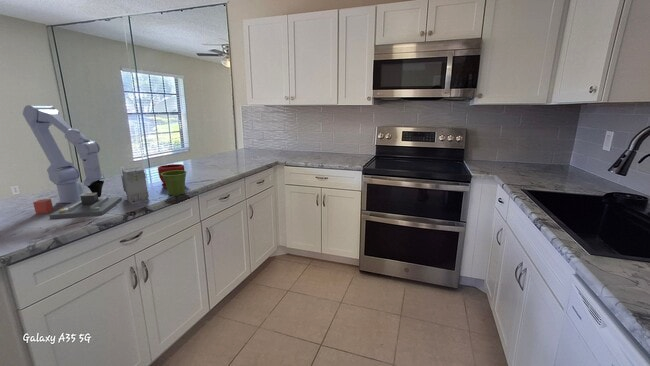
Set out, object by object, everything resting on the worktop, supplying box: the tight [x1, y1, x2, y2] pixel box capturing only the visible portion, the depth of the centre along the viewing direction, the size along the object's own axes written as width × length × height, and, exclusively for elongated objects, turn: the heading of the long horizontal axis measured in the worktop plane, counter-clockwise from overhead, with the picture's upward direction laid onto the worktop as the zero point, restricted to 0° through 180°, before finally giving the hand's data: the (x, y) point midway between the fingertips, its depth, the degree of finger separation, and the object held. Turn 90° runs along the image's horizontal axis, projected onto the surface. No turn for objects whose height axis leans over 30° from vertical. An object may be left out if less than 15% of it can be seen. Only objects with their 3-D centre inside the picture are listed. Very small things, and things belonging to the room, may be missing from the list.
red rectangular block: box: [32, 198, 54, 215], centre depth 121 cm, size 4×4×5 cm
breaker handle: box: [80, 192, 99, 205], centre depth 127 cm, size 3×5×4 cm, turn 105°
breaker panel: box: [48, 196, 123, 220], centre depth 125 cm, size 20×18×3 cm
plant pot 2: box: [157, 163, 186, 189], centre depth 161 cm, size 13×13×12 cm
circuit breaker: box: [120, 167, 150, 205], centre depth 138 cm, size 8×14×15 cm, turn 44°
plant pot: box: [161, 170, 188, 197], centre depth 146 cm, size 12×12×11 cm
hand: (97, 196), depth 133 cm, fingers closed
